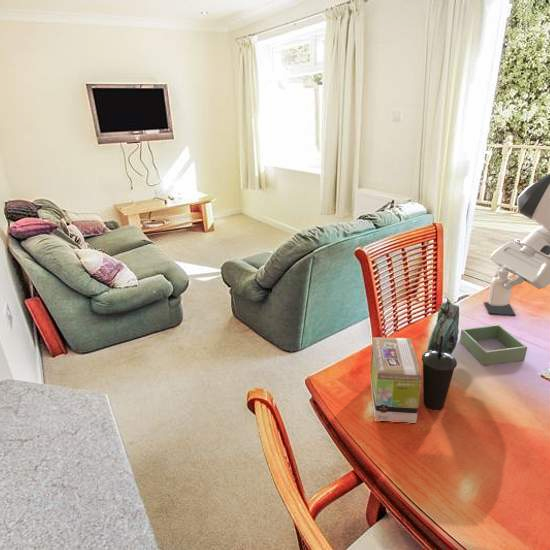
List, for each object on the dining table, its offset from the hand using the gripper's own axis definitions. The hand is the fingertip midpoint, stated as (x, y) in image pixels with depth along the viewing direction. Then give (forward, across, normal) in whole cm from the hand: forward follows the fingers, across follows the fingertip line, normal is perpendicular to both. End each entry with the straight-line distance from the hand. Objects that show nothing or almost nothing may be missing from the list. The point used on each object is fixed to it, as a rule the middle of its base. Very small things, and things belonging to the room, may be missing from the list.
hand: (499, 284), depth 109 cm
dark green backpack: (+28, +10, -1) cm, 30 cm away
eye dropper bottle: (+4, 0, +5) cm, 7 cm away
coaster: (+4, -16, +23) cm, 28 cm away
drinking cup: (+34, +23, -7) cm, 42 cm away
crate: (+16, +5, +11) cm, 20 cm away
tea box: (+41, +21, -14) cm, 48 cm away
